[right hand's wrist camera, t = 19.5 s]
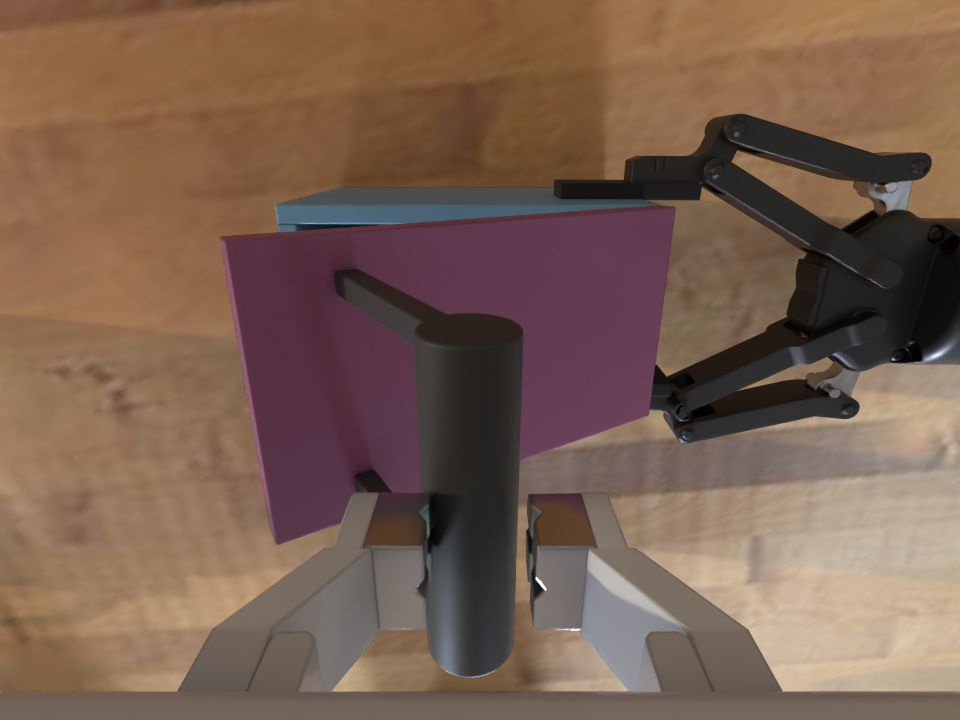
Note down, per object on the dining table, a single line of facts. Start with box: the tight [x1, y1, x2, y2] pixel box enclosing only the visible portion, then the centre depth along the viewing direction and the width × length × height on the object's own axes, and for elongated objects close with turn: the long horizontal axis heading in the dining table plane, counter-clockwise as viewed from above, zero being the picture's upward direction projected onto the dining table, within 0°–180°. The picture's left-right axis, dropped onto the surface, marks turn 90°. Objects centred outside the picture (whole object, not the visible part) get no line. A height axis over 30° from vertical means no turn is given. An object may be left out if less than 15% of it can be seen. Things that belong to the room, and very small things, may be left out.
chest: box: [275, 187, 661, 232], centre depth 29 cm, size 16×10×11 cm, turn 90°
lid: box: [220, 205, 676, 678], centre depth 16 cm, size 17×10×9 cm
